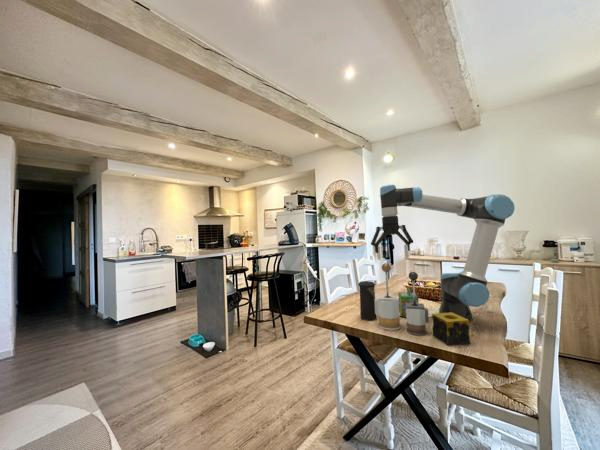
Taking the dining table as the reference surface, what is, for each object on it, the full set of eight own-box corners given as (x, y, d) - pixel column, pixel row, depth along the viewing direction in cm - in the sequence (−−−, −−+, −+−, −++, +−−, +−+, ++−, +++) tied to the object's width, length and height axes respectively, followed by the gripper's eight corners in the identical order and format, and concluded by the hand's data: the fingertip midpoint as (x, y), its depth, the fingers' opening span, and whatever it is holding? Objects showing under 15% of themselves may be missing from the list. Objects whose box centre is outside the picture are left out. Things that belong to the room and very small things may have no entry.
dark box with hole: (432, 335, 110) (430, 313, 111) (453, 334, 111) (452, 311, 111) (447, 346, 100) (446, 321, 100) (471, 344, 101) (469, 319, 101)
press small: (427, 329, 117) (426, 303, 117) (430, 336, 109) (428, 308, 110) (406, 327, 120) (404, 301, 121) (407, 334, 113) (405, 307, 113)
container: (377, 321, 130) (375, 283, 131) (360, 320, 132) (358, 283, 132) (376, 315, 139) (374, 280, 139) (359, 315, 140) (357, 280, 141)
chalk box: (398, 312, 143) (397, 286, 143) (415, 312, 141) (414, 286, 141) (401, 317, 134) (400, 290, 134) (419, 318, 132) (418, 290, 132)
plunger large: (392, 297, 125) (390, 262, 125) (392, 300, 121) (390, 263, 121) (383, 297, 126) (381, 262, 127) (383, 299, 122) (381, 263, 123)
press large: (400, 323, 126) (398, 294, 126) (400, 331, 116) (399, 300, 117) (376, 321, 130) (375, 293, 131) (375, 329, 120) (373, 299, 121)
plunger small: (419, 305, 116) (417, 271, 117) (420, 308, 113) (418, 272, 113) (410, 305, 118) (408, 271, 118) (410, 307, 114) (408, 272, 115)
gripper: (412, 214, 126) (415, 256, 126) (363, 218, 128) (366, 259, 127) (418, 213, 119) (421, 257, 118) (366, 217, 120) (369, 261, 120)
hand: (393, 258), depth 123 cm, fingers open, 13 cm apart
